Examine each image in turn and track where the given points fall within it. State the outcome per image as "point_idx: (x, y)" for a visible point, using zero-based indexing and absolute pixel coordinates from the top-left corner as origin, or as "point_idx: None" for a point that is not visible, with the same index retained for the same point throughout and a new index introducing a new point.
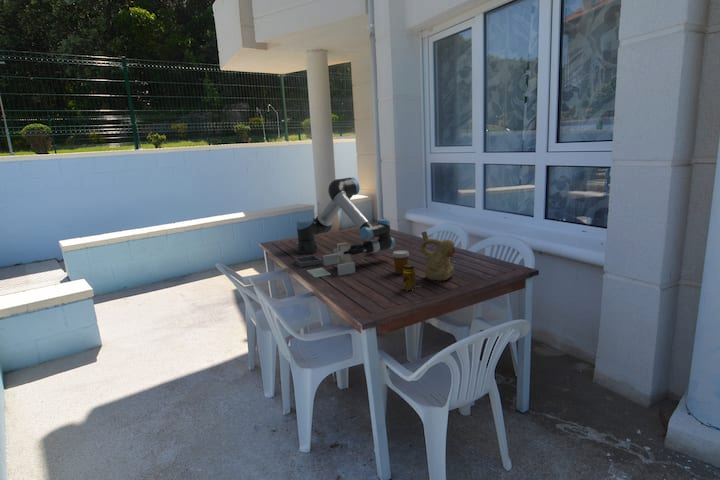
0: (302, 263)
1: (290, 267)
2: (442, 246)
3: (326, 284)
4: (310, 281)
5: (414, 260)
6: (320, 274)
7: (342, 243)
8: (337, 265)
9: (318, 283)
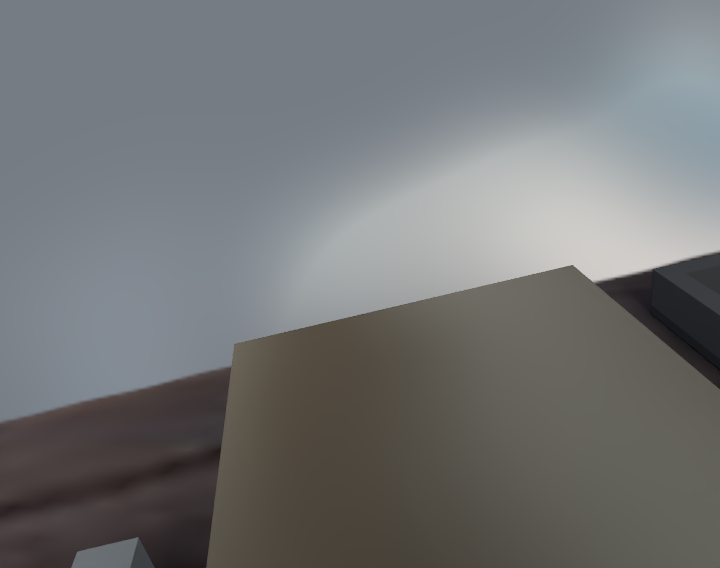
0: (664, 280)
1: (684, 260)
2: None
3: (5, 489)
4: (198, 386)
5: None
6: None
7: (539, 382)
8: (138, 546)
9: (96, 434)
